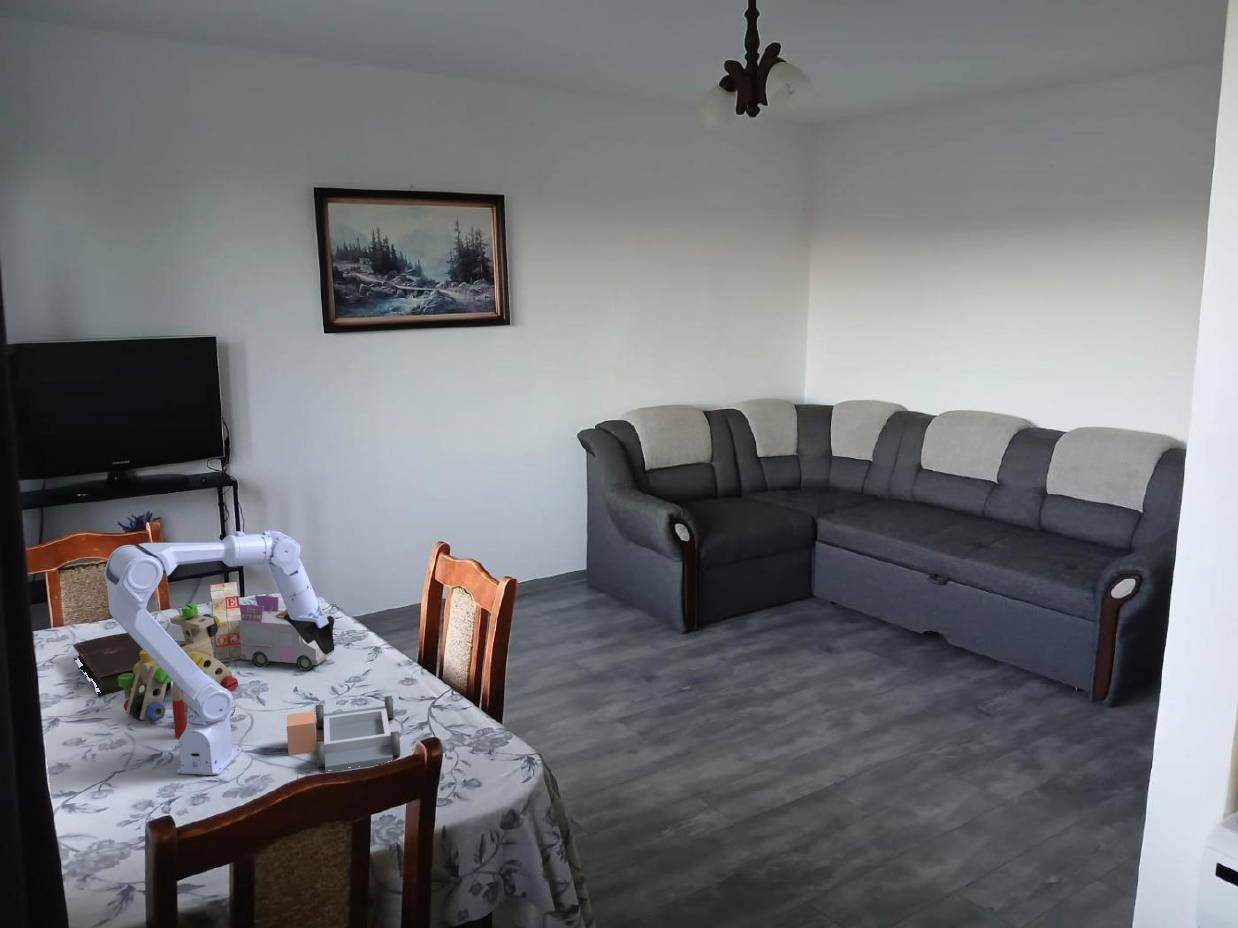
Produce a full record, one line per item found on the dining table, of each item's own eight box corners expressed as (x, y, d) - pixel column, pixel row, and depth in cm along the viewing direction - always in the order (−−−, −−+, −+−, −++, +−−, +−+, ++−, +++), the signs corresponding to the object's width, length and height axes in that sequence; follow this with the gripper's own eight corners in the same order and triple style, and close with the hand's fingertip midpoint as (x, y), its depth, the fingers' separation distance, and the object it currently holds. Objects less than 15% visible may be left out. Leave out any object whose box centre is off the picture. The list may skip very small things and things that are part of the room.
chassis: (401, 761, 174) (400, 739, 173) (317, 773, 170) (315, 751, 169) (391, 710, 194) (391, 690, 194) (317, 720, 190) (315, 699, 189)
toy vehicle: (316, 674, 212) (312, 611, 209) (238, 667, 216) (233, 605, 213) (336, 658, 221) (332, 597, 218) (261, 651, 225) (256, 592, 222)
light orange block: (316, 751, 177) (314, 722, 176) (288, 755, 176) (286, 726, 175) (316, 739, 182) (314, 711, 181) (289, 743, 181) (287, 714, 180)
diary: (156, 645, 231) (155, 626, 230) (186, 678, 212) (185, 657, 211) (70, 663, 219) (68, 643, 218) (94, 699, 200) (92, 677, 199)
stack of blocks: (244, 656, 222) (240, 607, 220) (215, 660, 220) (211, 610, 218) (240, 626, 242) (236, 580, 239) (213, 630, 239) (209, 583, 237)
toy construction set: (251, 724, 189) (243, 627, 185) (125, 751, 178) (114, 648, 174) (232, 676, 212) (225, 588, 208) (119, 697, 201) (110, 605, 197)
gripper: (331, 587, 178) (355, 645, 183) (297, 570, 188) (321, 625, 194) (298, 606, 174) (323, 665, 179) (265, 587, 184) (290, 644, 190)
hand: (320, 646), depth 186 cm, fingers open, 7 cm apart
